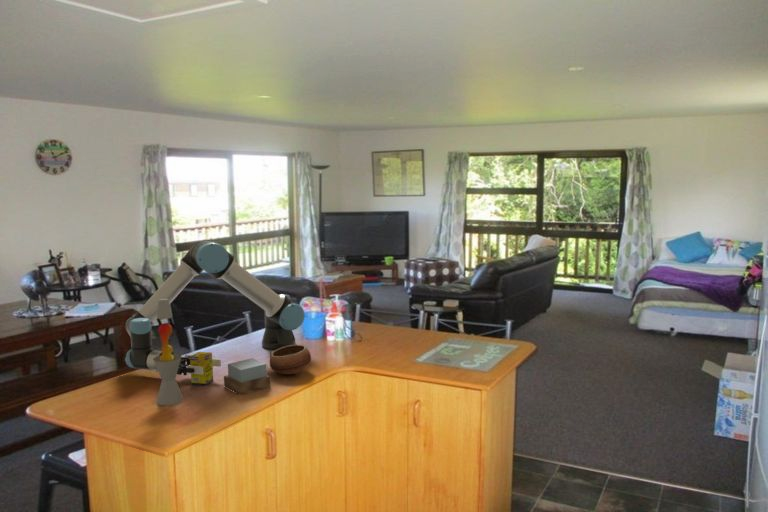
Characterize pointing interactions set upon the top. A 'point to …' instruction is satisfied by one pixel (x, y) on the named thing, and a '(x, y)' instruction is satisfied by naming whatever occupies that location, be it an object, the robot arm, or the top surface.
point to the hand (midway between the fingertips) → (211, 366)
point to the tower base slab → (246, 384)
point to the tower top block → (247, 370)
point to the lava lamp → (167, 360)
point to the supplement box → (206, 362)
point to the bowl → (290, 359)
